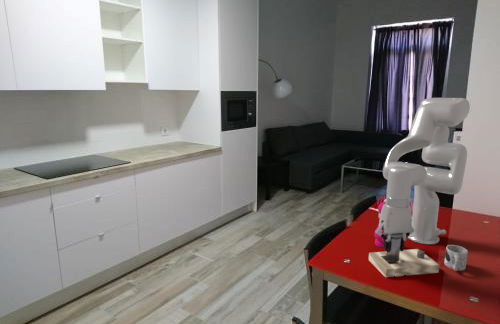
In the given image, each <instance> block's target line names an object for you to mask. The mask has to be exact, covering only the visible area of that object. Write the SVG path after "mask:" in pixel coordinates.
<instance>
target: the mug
mask: <svg viewBox="0 0 500 324" xmlns="http://www.w3.org/2000/svg"><path fill="white" fill-rule="evenodd" d="M468 254H469V251H468V249H466V248H465V247H463V246H460V245H455V244H447V246H446V248H445V253H444V262H443V263H444V266H445V267H447V268H449V269H450V270H454V272H458V271H460V272H462V271H465V270H466V267H467V260H468Z"/></svg>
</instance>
